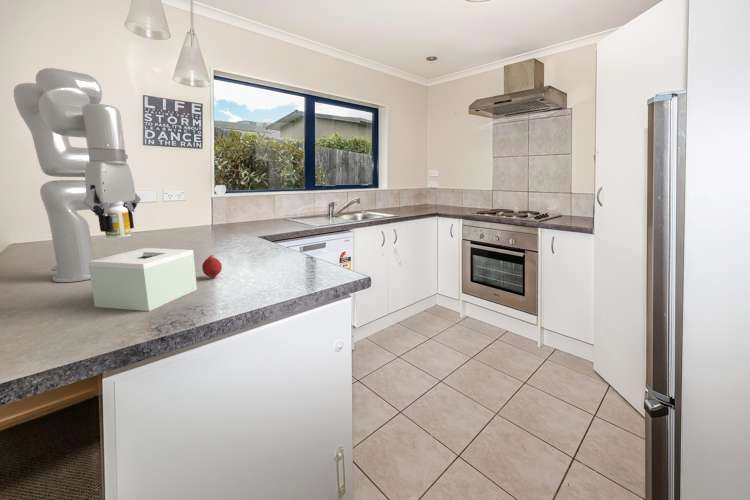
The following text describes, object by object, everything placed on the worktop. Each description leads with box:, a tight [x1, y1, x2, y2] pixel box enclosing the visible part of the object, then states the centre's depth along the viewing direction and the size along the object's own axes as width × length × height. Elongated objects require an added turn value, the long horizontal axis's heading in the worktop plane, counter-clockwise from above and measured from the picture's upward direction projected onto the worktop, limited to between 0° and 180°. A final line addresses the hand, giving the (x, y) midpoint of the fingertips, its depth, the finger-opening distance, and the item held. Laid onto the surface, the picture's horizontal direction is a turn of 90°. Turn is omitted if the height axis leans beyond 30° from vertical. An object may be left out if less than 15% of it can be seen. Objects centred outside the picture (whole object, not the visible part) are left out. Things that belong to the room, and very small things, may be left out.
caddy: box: [88, 247, 198, 312], centre depth 99 cm, size 16×18×12 cm
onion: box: [201, 254, 223, 279], centre depth 118 cm, size 6×6×8 cm
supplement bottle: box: [104, 201, 132, 239], centre depth 93 cm, size 5×5×10 cm
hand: (117, 229), depth 93 cm, fingers closed on supplement bottle, 5 cm apart
